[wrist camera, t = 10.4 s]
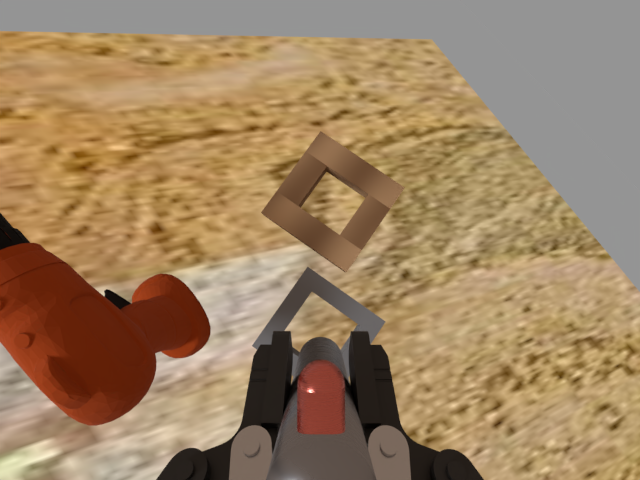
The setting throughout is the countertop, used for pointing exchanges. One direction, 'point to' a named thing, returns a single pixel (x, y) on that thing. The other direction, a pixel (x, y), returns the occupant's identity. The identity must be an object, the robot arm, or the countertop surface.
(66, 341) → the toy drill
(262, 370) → the robot arm
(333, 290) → the socket
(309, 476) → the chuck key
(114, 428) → the countertop surface
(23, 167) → the countertop surface
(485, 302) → the countertop surface
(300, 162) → the frame
